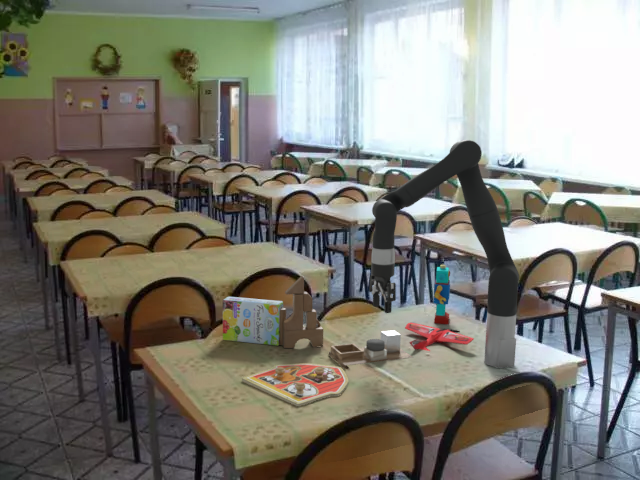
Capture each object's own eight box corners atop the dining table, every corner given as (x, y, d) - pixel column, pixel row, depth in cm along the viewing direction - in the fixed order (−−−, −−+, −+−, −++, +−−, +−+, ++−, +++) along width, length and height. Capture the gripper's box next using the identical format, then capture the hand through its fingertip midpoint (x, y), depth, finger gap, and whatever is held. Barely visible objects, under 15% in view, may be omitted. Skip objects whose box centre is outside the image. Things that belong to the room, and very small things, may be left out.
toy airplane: (483, 344, 266) (484, 331, 265) (449, 366, 244) (449, 351, 243) (417, 330, 282) (417, 317, 281) (379, 348, 260) (379, 335, 259)
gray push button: (387, 358, 246) (387, 343, 245) (370, 360, 243) (371, 345, 242) (379, 352, 251) (379, 338, 250) (363, 354, 249) (363, 340, 248)
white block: (400, 351, 253) (400, 334, 252) (386, 352, 252) (387, 335, 250) (393, 346, 258) (394, 330, 257) (380, 348, 256) (380, 331, 255)
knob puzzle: (237, 381, 229) (237, 367, 228) (307, 359, 249) (308, 346, 248) (303, 411, 208) (303, 395, 207) (373, 384, 229) (374, 370, 228)
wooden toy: (319, 340, 267) (320, 272, 262) (323, 346, 260) (324, 276, 255) (276, 342, 263) (276, 273, 259) (279, 348, 257) (279, 278, 252)
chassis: (412, 360, 248) (413, 348, 247) (344, 368, 239) (345, 356, 239) (394, 347, 261) (394, 335, 260) (328, 354, 252) (329, 342, 251)
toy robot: (448, 325, 287) (451, 262, 283) (432, 324, 288) (435, 261, 284) (449, 317, 298) (452, 256, 294) (433, 316, 299) (436, 255, 295)
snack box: (283, 341, 265) (284, 300, 262) (278, 346, 260) (278, 304, 257) (227, 335, 271) (227, 295, 268) (221, 340, 265) (221, 299, 262)
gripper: (403, 264, 238) (402, 314, 241) (383, 256, 251) (382, 302, 254) (382, 266, 235) (381, 316, 238) (363, 257, 248) (362, 305, 251)
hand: (381, 309), depth 246 cm, fingers open, 8 cm apart
